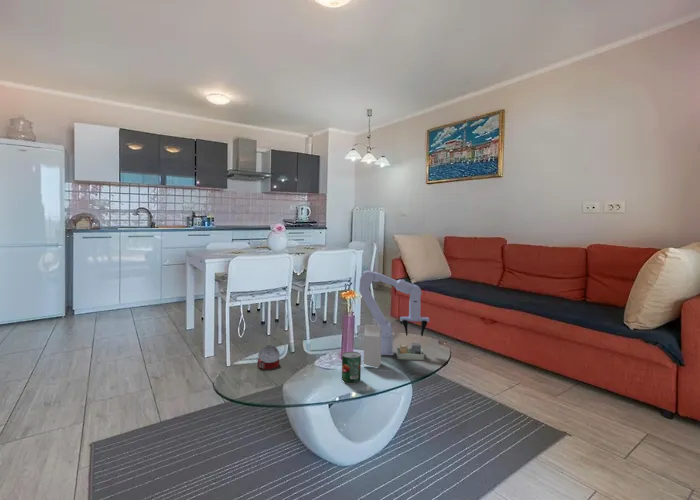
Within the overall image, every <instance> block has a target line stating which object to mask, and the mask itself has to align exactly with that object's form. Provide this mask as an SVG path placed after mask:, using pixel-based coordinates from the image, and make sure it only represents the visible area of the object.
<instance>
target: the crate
mask: <svg viewBox="0 0 700 500" xmlns="http://www.w3.org/2000/svg"><path fill="white" fill-rule="evenodd" d="M395 350H396V351H395V353H396V357H397V360H409V361H410V360H413V361H414V360H415V361H416V360H419V361H425V359H426V357H425V352H424V350H423V349H422V347H421V354H411V347H407V354H400V347H396V348H395Z"/></svg>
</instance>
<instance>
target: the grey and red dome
mask: <svg viewBox="0 0 700 500" xmlns="http://www.w3.org/2000/svg"><path fill="white" fill-rule="evenodd" d="M257 357H258V358H257V368H258V369H261V370H270V369H276V368H278V367H279V366H280V357H281V353H280V351H279V350H278V347H276V346H275V345H272V344H269V345H265V346H263V347H261V349H259V351H258V354H257Z"/></svg>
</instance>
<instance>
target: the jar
mask: <svg viewBox="0 0 700 500" xmlns="http://www.w3.org/2000/svg"><path fill="white" fill-rule="evenodd" d="M408 346H409V345H407V344H400V345H399V348H400V354H407V348H409V347H408Z"/></svg>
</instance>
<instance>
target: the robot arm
mask: <svg viewBox="0 0 700 500" xmlns="http://www.w3.org/2000/svg"><path fill="white" fill-rule="evenodd" d="M373 281H374V283H378V282H381V283H384V284H387V285H390V286H393V287H394V288H395V290H396V291H399V292H401V293H403V294H406V295H409V301H408V302H409V303H408V304H409V305H408V307H409V308H408V316H400V317H399V321H400V322H402V325H403V327H404V331H405V335H406V336H408V334H409V333H408V325H409V324H408V322H420V327H421V329H420V336H421V337H423V336H424V331H425V329H426V327H427V326H428V325H427V324H428V323H430V318H429V317H425V316H421V306H422V305H421V304H422V303H421V296H422V293H423V292H422V290H421V287H420V286H418V285H417V284H414V283H413V282H408V281H406V280H405V279H403V278H402V279H400V278H399V279H398V280H396V279H394V278H392V277H389V276H387V275H384V274H382V273H380V272H376V271H372V270H370V269H367V270H365V271H363V273H362V274H361V276H360V279H359V288H358V289H359V293H360V295H361V297H362V299H363V301H364V302H365V304H366V306H367V309H369V311H370V313H371V315H372V316H373V319H374V320H375V321H376V324H377V325H376V326H381V356H394V355H395V353H394V350H393V348H394V347H393V343H394V341H393V337H394V335H393V334H392V333H393V325H392V323H391V322H390V321H388V320H387V318H386V317H385V316H384V314H383V312H382V311H381V309H380V307H379V305H378V304H377V301H376V299H375V298H374V296H373V295H372V293H371V292H370V287H371V284H372V283H373Z"/></svg>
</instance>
